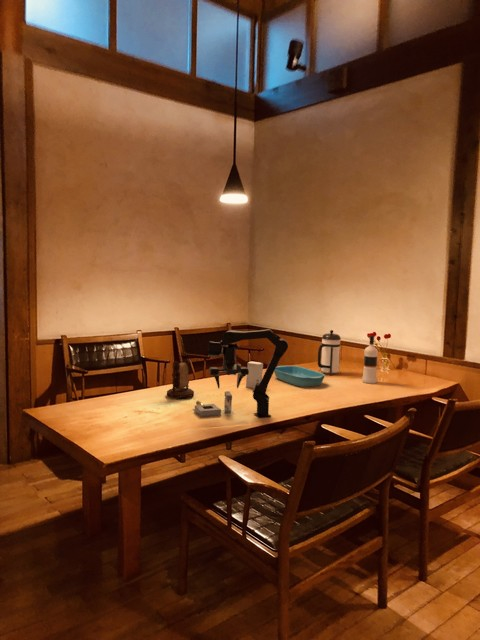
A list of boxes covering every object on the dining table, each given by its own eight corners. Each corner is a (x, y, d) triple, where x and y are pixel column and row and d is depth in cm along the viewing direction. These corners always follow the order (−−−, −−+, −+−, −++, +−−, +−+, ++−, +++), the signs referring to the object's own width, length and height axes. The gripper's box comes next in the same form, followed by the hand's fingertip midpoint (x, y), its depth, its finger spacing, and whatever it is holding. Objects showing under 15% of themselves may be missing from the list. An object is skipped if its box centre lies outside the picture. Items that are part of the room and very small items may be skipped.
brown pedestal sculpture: (179, 401, 273) (179, 363, 271) (161, 395, 283) (161, 359, 281) (199, 396, 284) (200, 360, 282) (181, 391, 294) (182, 356, 292)
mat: (236, 415, 251) (236, 414, 251) (225, 416, 249) (225, 415, 249) (230, 410, 258) (230, 409, 258) (219, 411, 256) (219, 410, 256)
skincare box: (245, 387, 309) (246, 362, 307) (249, 385, 314) (250, 360, 313) (259, 388, 306) (259, 364, 304) (262, 386, 311) (263, 362, 310)
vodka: (360, 382, 330) (363, 335, 327) (363, 380, 338) (366, 334, 335) (375, 384, 326) (377, 337, 323) (378, 381, 334) (380, 335, 331)
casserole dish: (331, 386, 319) (331, 374, 318) (303, 390, 307) (303, 378, 306) (293, 374, 350) (294, 364, 349) (266, 377, 338) (267, 366, 337)
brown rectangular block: (230, 410, 258) (230, 391, 257) (232, 414, 250) (233, 395, 249) (223, 410, 257) (223, 391, 256) (225, 414, 249) (226, 395, 248)
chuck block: (220, 416, 248) (221, 409, 248) (200, 418, 244) (201, 411, 244) (207, 405, 266) (207, 398, 266) (188, 407, 263) (188, 400, 262)
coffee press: (316, 370, 364) (318, 328, 361) (340, 372, 362) (342, 329, 358) (317, 375, 347) (319, 331, 343) (341, 377, 345) (343, 332, 341)
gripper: (212, 359, 241) (211, 392, 242) (252, 359, 245) (250, 392, 246) (209, 355, 251) (208, 387, 253) (246, 355, 256) (245, 386, 257)
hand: (228, 388), depth 252 cm, fingers open, 9 cm apart
